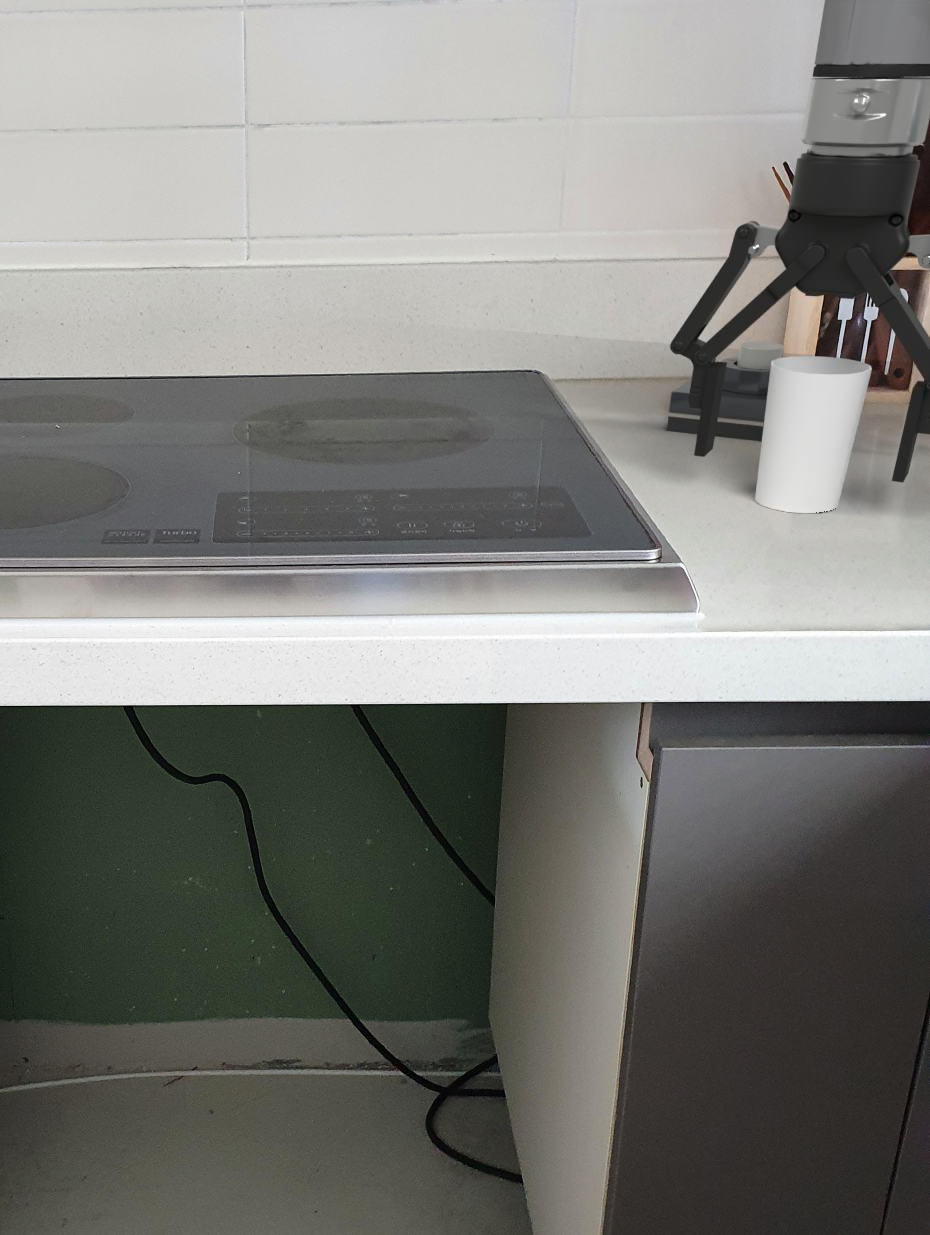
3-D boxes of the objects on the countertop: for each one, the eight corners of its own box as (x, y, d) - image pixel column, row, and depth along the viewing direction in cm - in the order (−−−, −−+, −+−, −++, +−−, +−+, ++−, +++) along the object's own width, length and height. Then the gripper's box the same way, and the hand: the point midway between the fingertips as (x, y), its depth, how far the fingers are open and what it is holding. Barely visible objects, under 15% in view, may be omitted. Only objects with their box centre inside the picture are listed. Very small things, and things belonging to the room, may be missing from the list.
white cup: (855, 516, 96) (883, 375, 92) (757, 513, 97) (781, 374, 93) (832, 490, 102) (858, 356, 98) (740, 488, 103) (762, 355, 99)
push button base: (830, 421, 121) (842, 359, 119) (809, 447, 113) (821, 381, 111) (694, 408, 127) (702, 348, 124) (666, 431, 119) (674, 368, 117)
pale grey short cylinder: (784, 367, 118) (788, 343, 117) (775, 374, 116) (779, 350, 115) (741, 363, 120) (745, 340, 119) (732, 371, 117) (735, 347, 117)
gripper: (654, 149, 92) (614, 453, 102) (1075, 158, 80) (985, 502, 90) (682, 143, 98) (642, 432, 107) (1079, 151, 86) (994, 475, 95)
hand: (798, 464), depth 99 cm, fingers open, 13 cm apart
